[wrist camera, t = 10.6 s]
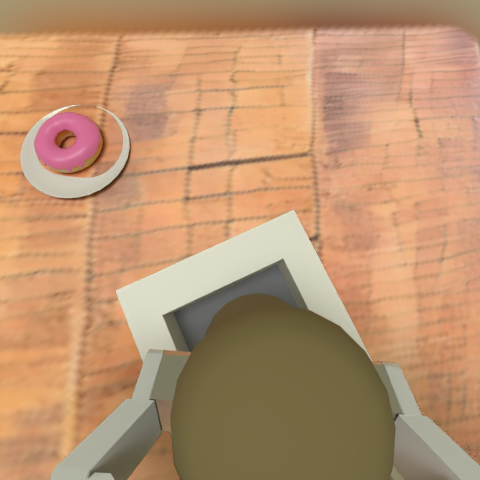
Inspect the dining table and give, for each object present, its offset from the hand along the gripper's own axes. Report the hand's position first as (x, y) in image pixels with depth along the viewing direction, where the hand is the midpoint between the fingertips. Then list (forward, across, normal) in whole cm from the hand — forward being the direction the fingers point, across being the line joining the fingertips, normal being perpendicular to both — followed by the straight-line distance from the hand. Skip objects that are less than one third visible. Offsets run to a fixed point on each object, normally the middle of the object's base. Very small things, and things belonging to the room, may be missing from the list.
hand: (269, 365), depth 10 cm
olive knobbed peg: (+4, 0, +5) cm, 7 cm away
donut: (+17, +14, 0) cm, 22 cm away
